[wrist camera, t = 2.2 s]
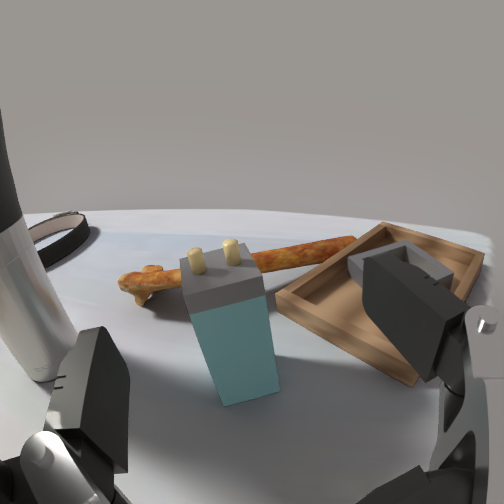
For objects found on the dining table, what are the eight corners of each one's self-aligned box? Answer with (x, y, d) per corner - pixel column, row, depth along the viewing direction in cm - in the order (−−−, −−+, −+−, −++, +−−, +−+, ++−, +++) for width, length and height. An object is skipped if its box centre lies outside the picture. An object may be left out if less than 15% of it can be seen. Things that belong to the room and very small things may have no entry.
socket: (389, 317, 29) (392, 298, 28) (347, 274, 38) (347, 256, 36) (450, 290, 31) (454, 272, 29) (405, 255, 39) (406, 239, 38)
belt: (108, 217, 80) (103, 200, 77) (59, 272, 53) (50, 250, 51) (35, 235, 80) (30, 221, 78) (-18, 286, 54) (-26, 269, 52)
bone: (349, 244, 47) (363, 198, 38) (366, 290, 42) (387, 249, 34) (138, 275, 45) (112, 235, 37) (135, 325, 41) (104, 292, 32)
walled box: (277, 311, 34) (274, 293, 33) (382, 236, 46) (382, 221, 45) (411, 387, 22) (418, 369, 21) (481, 269, 33) (484, 253, 32)
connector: (223, 406, 24) (175, 275, 18) (214, 366, 28) (174, 240, 22) (280, 391, 25) (258, 254, 18) (264, 353, 29) (241, 224, 23)
